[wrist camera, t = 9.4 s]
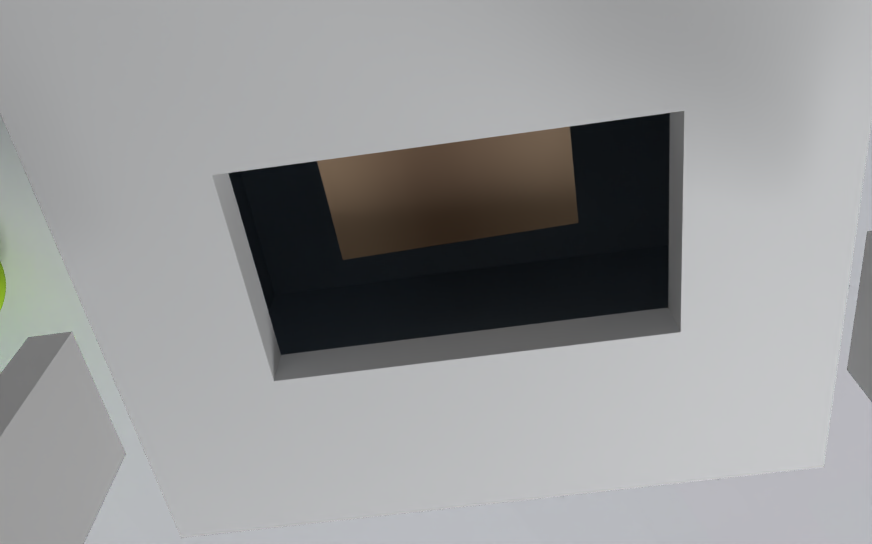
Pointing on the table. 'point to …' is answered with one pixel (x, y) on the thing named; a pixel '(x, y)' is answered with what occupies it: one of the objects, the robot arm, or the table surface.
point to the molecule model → (2, 285)
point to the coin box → (454, 262)
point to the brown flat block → (450, 192)
